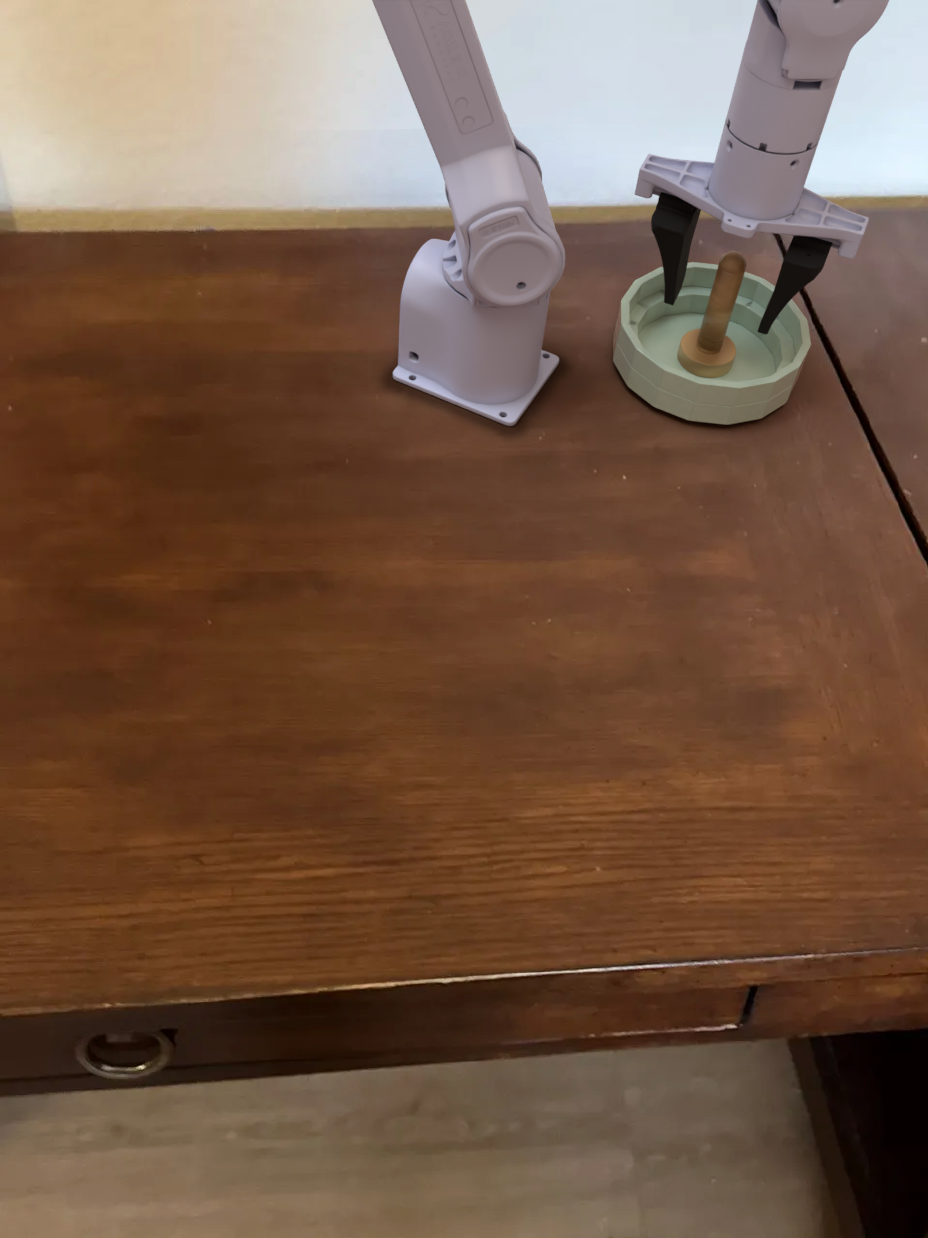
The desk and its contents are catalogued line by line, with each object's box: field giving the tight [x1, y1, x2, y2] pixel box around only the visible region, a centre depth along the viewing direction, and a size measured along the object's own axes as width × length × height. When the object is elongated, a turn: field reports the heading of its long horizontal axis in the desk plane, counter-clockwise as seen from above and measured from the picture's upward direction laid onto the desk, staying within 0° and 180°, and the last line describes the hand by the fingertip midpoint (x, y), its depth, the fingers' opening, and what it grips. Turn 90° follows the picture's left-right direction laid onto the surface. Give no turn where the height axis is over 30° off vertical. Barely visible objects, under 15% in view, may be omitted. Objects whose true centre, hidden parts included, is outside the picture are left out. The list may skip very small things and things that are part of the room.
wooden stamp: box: [677, 250, 747, 378], centre depth 83 cm, size 4×4×9 cm
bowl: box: [612, 261, 812, 426], centre depth 86 cm, size 13×13×4 cm
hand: (718, 310), depth 83 cm, fingers open, 6 cm apart
